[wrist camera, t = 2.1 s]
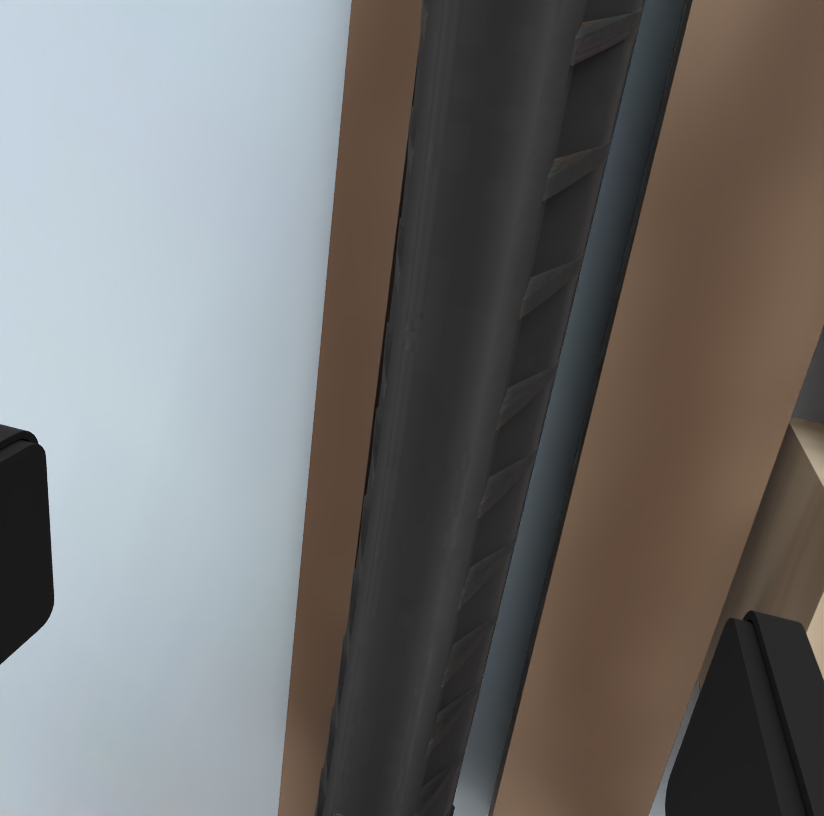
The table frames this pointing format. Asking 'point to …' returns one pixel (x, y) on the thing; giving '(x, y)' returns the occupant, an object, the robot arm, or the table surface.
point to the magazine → (467, 373)
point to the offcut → (785, 544)
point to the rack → (598, 400)
